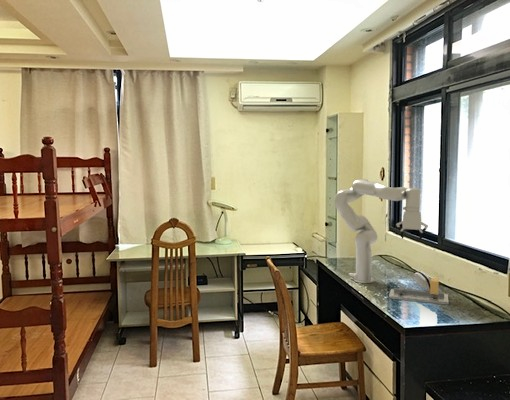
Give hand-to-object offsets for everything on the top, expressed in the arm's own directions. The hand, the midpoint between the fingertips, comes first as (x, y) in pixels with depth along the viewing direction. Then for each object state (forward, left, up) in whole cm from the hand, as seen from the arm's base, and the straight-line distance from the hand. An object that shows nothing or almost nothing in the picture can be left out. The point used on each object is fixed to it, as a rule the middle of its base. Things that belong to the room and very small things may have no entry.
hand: (411, 238), depth 253 cm
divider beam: (+5, -14, -29) cm, 32 cm away
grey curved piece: (+8, +7, -30) cm, 32 cm away
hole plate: (+5, -15, -30) cm, 34 cm away
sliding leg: (+13, -14, -28) cm, 34 cm away
